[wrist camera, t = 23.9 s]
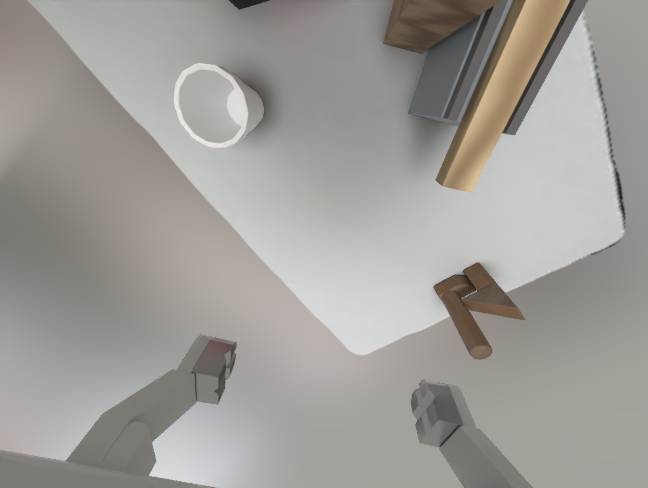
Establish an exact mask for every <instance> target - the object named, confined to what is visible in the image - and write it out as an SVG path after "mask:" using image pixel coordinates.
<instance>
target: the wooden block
mask: <svg viewBox="0 0 648 488" xmlns="http://www.w3.org/2000/svg"><path fill="white" fill-rule="evenodd" d="M464 273H465V274H466V276H461V275H454V276H452V277H450V278H448V279H446V280H444V281H443V282H441V283H439V284H437V285H435V286H434V289H435V291H436V293H437V295H438V297H439V298H440V299H441V300H442V302H443V303H444V304H445V306H446V308H447V310H448V312H449V314H450V316H451V318H452V320H453V322H454V324H455V326H456V328H457V330H458V332H459V334H460V336H461V338H462V340H463V342H464V344H465V346H466V348H467V350H468V351H469V354H470V355H471V356H472V357H473V358H475V359H485V358H487V357H489V356H490V355H491V354H492V348H491V346H490V344H489V343H488V341H487V340H486V338H485V336H484V335H483V333H482V331H481V330H480V328H479V326H478V325H477V323H476V322H475V320H474V318H473V317H472V315H471V313H470V312H469V310H471V311H477V312H482V313H488V314H493V315H500V316H505V317H510V318H515V319H521V320H525V318H524V317H523V315H522V314H521V312H520V311H519V309H518V308H517V307H516V305H515V304H514V303H513V302H512V301H511V300H510V298H509V297H508V296H507V295H506V294H505V292H504V291H503V290H502V289H501V288H500V287H499V286H498V284H497V283H496V282H495V281H494V279H493V278H492V277H491V276H490V275H489V274H488V273H487V271H486V270H485V269H484V268H483V267H482V266H481V264H480V263H476V264H474V265H472V266H470V267H469V268H467V269H465V270H464ZM476 290H477V292H475V293H473V294H471V295H469V296H467V297H465V298H463V299H461V298H462V297H464V296H466V295H468V294H470V293H472V292H474V291H476ZM468 309H469V310H468Z"/></svg>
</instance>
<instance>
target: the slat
mask: <svg viewBox="0 0 648 488" xmlns="http://www.w3.org/2000/svg"><path fill="white" fill-rule="evenodd" d="M569 2H570V0H513V2H512V4H511V7H510V9H509V11H508V14H507V16H506V18H505V20H504V23H503V25H502V27H501V30H500V32H499V34H498V37H497V39H496V41H495V44H494V46H493V48H492V51H491V53H490V55H489V57H488V60H487V62H486V64H485V67H484V69H483V71H482V74H481V76H480V78H479V81H478V83H477V85H476V88H475V90H474V92H473V94H472V97H471V99H470V101H469V104H468V106H467V108H466V111H465V113H464V115H463V118H462V120H461V122H460V125H459V127H458V129H457V131H456V134H455V136H454V138H453V141H452V143H451V145H450V148H449V150H448V152H447V155H446V157H445V159H444V162H443V164H442V166H441V168H440V171H439V173H438V175H437V178H436V181H437V182H438V183H439V184H440V185H442V186H444V187H449V188H453V189H457V190H461V191H466V192H470V193H471V192H472V190H473V188H474V186H475V184H476V182H477V181H478V179H479V177H480V175H481V173H482V171H483V169H484V167H485V165H486V163H487V161H488V159H489V157H490V155H491V153H492V151H493V149H494V148H495V146H496V144H497V142H498V140H499V138H500V136H501V134H502V132H503V130H504V128H505V126H506V124H507V122H508V120H509V118H510V116H511V115H512V113H513V111H514V109H515V107H516V105H517V103H518V101H519V99H520V97H521V95H522V93H523V91H524V89H525V87H526V85H527V83H528V82H529V80H530V78H531V76H532V74H533V72H534V70H535V68H536V66H537V64H538V62H539V60H540V58H541V56H542V54H543V52H544V50H545V49H546V47H547V45H548V43H549V41H550V39H551V37H552V35H553V33H554V31H555V29H556V27H557V25H558V23H559V21H560V19H561V17H562V16H563V14H564V12H565V10H566V8H567V6H568V4H569Z"/></svg>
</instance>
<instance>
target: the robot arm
mask: <svg viewBox="0 0 648 488" xmlns="http://www.w3.org/2000/svg"><path fill="white" fill-rule="evenodd" d="M235 349H236V342H233V341H229V340H225V339H220V338H216V337H212V336H207V335H201V334H200V335H199V336H198V337H197V338H196V340H195V342H194V343H193V345H192V346H191V348H190V349H189V351H188V352H187V354H186V356H185V357H184V359H183V360H182V362H181V364H180V365H179V367H178V368H177V370H174V369H172V370H171V371H169V372H168V373H166V374H164V375H163V376H161V377H160V378H158V379H157V380H155V381H154V382H152V383H150V384H149V385H147V386H146V387H144V388H143V389H141V390H139V391H138V392H136V393H135V394H133V395H131V396H130V397H128V398H127V399H125V400H124V401H122V402H120V403H119V404H117V405H116V406H114V407H113V408H111V409H109V410H108V411H106V412H105V413H103V414H102V415H101V417H100V418H99V419H98V420H97V422H96V423H95V424H94V425H93V427H92V428H91V429H90V431H89V432H88V433H87V434H86V436H85V437H84V438H83V440H82V441H81V442H80V443H79V445H78V446H77V447H76V448H75V450H74V451H73V452H72V453H71V455H70V456H69V457H68V459H67V460H66V461H61V460H55V459H50V458H44V457H38V456H32V455H26V454H21V453H15V452H8V451H3V450H0V488H214V487H209V486H204V485H198V484H192V483H186V482H181V481H175V480H169V479H164V478H158V477H152V476H149V474H150V472H151V470H152V468H153V466H154V464H155V462H156V458H155V453H154V449H153V445H152V442H153V441H154V440H155V439H156V438H157V437H158V436H159V435H160V434H162V433H163V432H164V431H165V430H166V429H167V428H168V427H169V426H171V425H172V424H173V423H174V422H175V421H176V420H177V419H178V418H179V417H181V416H182V415H183V414H184V413H185V412H186V411H187V410H189V409H190V408H191V407H192V406H193V405H194V404H195V403H196V401H199V402H205V403H211V404H218V403H219V401H220V399H221V396H222V394H223V392H224V389H225V380H227V379H228V378H229V377H230V375H231V372H232V370H233V367H234V363H235V359H236V354H235ZM419 386H420V388H418V389H416V390H415V391H414V392H413V394H412V399H411V407H412V412H413V414H414V415H415V417H416V418H417V422H416V430H417V434H418V438H419V442H420V443H422V444H427V445H431V446H435V447H440V451H441V452H442V454H443V455H444V457H445V459H446V460H447V462H448V463H449V465H450V466H451V468H452V470H453V471H454V473H455V474H456V476H457V477H458V479H459V480H460V482H461V484H462V485H463V487H464V488H533V487H532V486H531V485H530V484H529V483H528V482H527V481H526V480H525V478H524V477H523V476H522V475H521V474H520V473H519V472H518V471H517V470H516V468H515V467H514V466H513V465H512V464H511V463H510V462H509V461H508V460H507V458H506V457H505V456H504V455H503V454H502V453H501V452H500V451H499V450H498V448H497V447H496V446H495V445H494V444H493V443H492V442H491V441H490V440H489V438H488V437H487V436H486V435H485V434H484V433H483V432H482V431H481V430H480V429H477V428H476V425H475V423H474V421H473V418H472V416H471V413H470V411H469V409H468V407H467V404H466V401H465V399H464V397H463V394H462V392H461V390H460V389H459V387H457V386H454V385H448V384H445V383H440V382H434V381H429V380H422V381H421V382H420V383H419Z"/></svg>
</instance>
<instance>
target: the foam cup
mask: <svg viewBox="0 0 648 488" xmlns="http://www.w3.org/2000/svg"><path fill="white" fill-rule="evenodd" d="M174 106H175V109H176V111H177V114H178V117H179V120H180V123H181V124H182V125H183V126H184V128H185V129H186V130H187V131H188V133H189V134H190V135H191V136H192V138H194V139H196V140H197V141H199V142H201V143H202V144H204V145H206V146H208V147H216V148H225V147H228V146H230V145H233V144H235V143H238V142H240V141H242V140H243V139H244V138H245V137H246V135H247V134H248V133H249V132H251V131H252V130H253V129H254V128H255V127H256V126H257V125H258V124H259V123H260V121H261V120H262V119H263V114H264V107H263V102H262V99H261V98H260V96H259V95H258V93H257V92H256V91H254V90H253V89H251V88H250V87H248V86H247V85H246V84H244V83H243V82H242V81H241V80H240V78H238V77H237V76H235V75H234V74H232V73H231V72H229V71H228V70H226V69H225V68H223V67H220V66H217V65H210V64H202V63H197V64H195V65H193V66H191V67H189V68H187V69H185V70H183V72H182V73H181V75H180V77H179V79H178V80H177V82H176V84H175V90H174Z"/></svg>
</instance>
